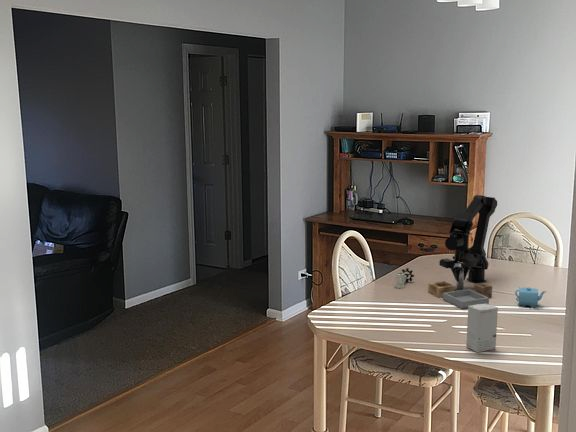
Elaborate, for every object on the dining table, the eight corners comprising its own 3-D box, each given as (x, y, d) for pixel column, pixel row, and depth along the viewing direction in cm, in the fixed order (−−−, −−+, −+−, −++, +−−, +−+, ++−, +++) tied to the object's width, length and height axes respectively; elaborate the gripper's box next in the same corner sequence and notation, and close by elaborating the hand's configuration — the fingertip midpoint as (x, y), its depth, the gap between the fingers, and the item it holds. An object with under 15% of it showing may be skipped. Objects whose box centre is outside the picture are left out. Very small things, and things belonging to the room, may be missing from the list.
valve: (405, 289, 281) (414, 282, 291) (405, 275, 280) (414, 268, 290) (391, 287, 284) (400, 280, 294) (391, 273, 283) (400, 267, 293)
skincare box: (477, 353, 212) (479, 310, 209) (465, 346, 218) (467, 305, 215) (496, 348, 215) (499, 307, 213) (484, 342, 221) (486, 301, 218)
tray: (468, 295, 271) (469, 289, 271) (488, 305, 260) (489, 297, 259) (442, 299, 267) (443, 292, 266) (462, 309, 255) (462, 302, 254)
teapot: (545, 304, 259) (546, 287, 258) (546, 309, 254) (547, 291, 252) (514, 302, 263) (515, 284, 262) (514, 306, 258) (515, 288, 256)
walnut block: (484, 294, 274) (484, 282, 273) (491, 297, 269) (492, 286, 268) (474, 295, 272) (474, 284, 271) (481, 299, 267) (482, 287, 266)
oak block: (443, 290, 280) (444, 281, 279) (454, 295, 272) (455, 286, 272) (428, 292, 277) (428, 283, 276) (438, 297, 270) (439, 288, 269)
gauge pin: (460, 288, 282) (461, 266, 280) (464, 289, 280) (465, 267, 278) (454, 288, 281) (455, 266, 279) (459, 290, 278) (460, 268, 277)
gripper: (454, 252, 266) (453, 288, 269) (491, 248, 273) (489, 283, 276) (439, 246, 276) (438, 281, 279) (474, 242, 283) (473, 276, 286)
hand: (460, 280), depth 280 cm, fingers closed on gauge pin, 3 cm apart
